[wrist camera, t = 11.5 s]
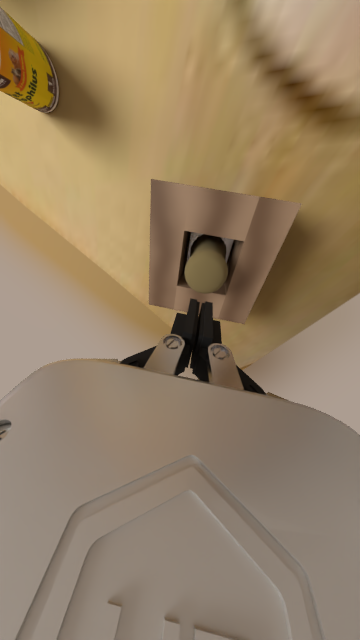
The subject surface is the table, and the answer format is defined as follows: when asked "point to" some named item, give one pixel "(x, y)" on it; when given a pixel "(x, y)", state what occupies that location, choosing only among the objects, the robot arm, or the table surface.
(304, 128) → the table surface
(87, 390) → the robot arm
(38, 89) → the supplement bottle
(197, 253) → the olive pear shape
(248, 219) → the brown square frame
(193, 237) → the gray square plate
